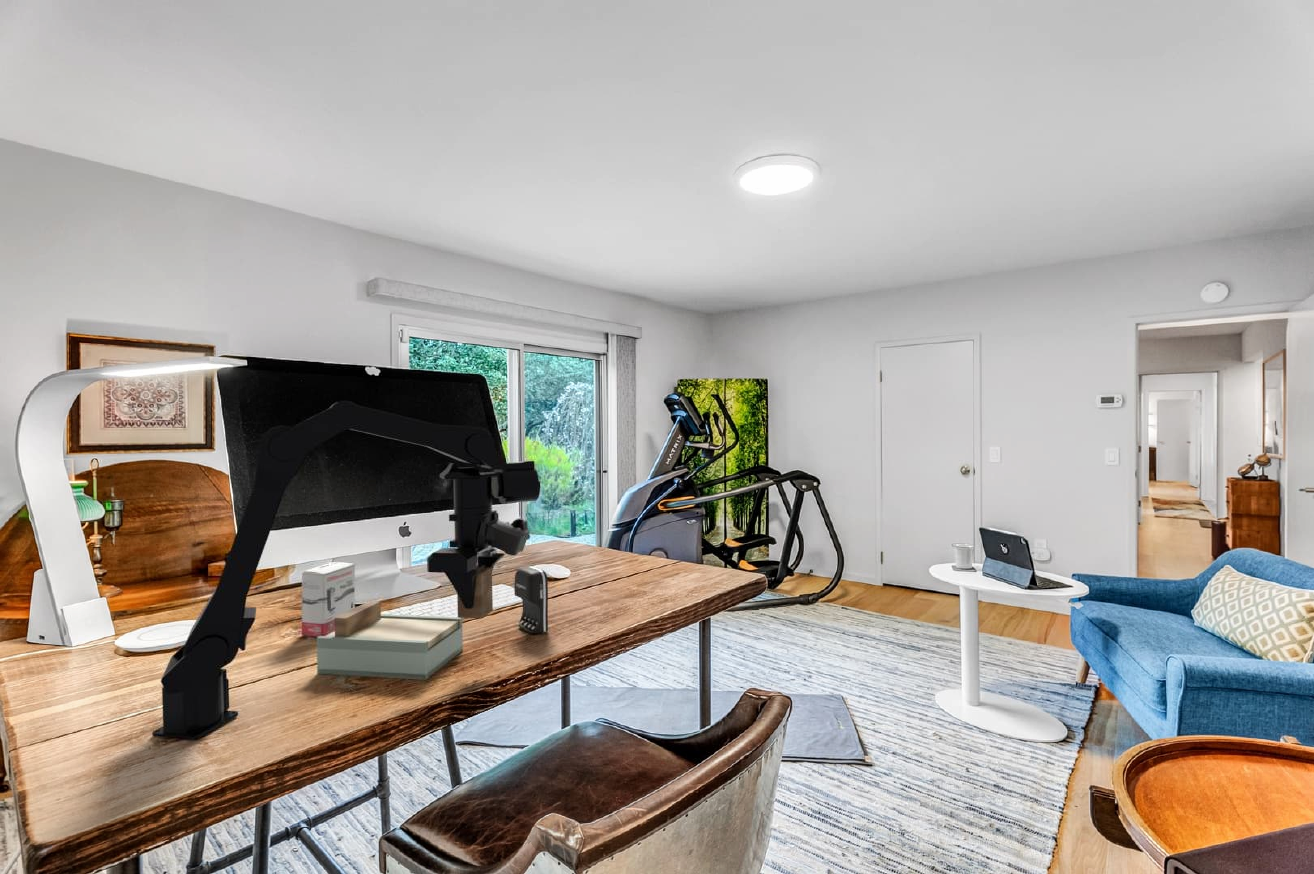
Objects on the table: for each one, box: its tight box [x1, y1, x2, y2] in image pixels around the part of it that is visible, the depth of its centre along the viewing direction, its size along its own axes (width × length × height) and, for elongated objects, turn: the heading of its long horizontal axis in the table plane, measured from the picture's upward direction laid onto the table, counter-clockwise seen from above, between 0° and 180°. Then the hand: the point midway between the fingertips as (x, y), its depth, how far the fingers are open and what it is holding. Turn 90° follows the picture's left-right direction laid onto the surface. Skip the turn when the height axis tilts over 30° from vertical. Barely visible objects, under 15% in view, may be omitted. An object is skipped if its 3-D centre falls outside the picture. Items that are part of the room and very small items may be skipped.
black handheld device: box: [513, 566, 549, 635], centre depth 113 cm, size 7×4×11 cm, turn 41°
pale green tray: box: [316, 613, 464, 681], centre depth 99 cm, size 12×18×6 cm, turn 82°
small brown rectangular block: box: [456, 567, 494, 619], centre depth 97 cm, size 4×4×7 cm
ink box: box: [301, 561, 356, 638], centre depth 115 cm, size 9×5×12 cm, turn 168°
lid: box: [326, 600, 458, 648], centre depth 99 cm, size 10×18×4 cm, turn 82°
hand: (475, 604), depth 97 cm, fingers closed on small brown rectangular block, 4 cm apart
